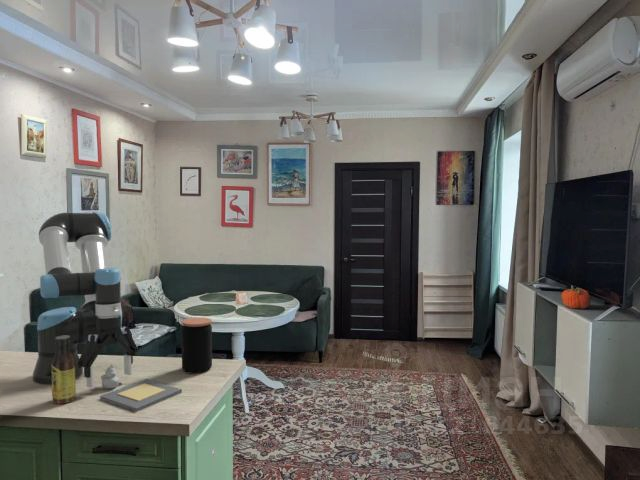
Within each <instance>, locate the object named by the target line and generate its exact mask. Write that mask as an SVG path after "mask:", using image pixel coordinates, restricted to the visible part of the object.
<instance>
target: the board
mask: <svg viewBox="0 0 640 480" xmlns="http://www.w3.org/2000/svg"><path fill="white" fill-rule="evenodd" d="M182 391H183V389H182V388H178V387H175V386H171V385H170V384H169V385H167V384H164V383H161V382H158V381H154V380H150V379H147V378H145V379H143V380H140V381H137V382H135V383H132V384H129V385H127V386H124V387H121V388H119V389H118V388H117V389H116V390H113V391H109V392H107V393H105V394H102V395H100V396H99V399H100V400H101V401H104V402H107V403H110V404H112V405H116V406H119V407H122V408H125V409H127V410H131V411H133V412H136V413H137V412H140V411H143V410H145V409H147V408H149V407H151V406H154V405H156V404H158V403H160V402H163V401H165V400H167V399H169V398H173V397H174V396H177V395H179V394H181V393H182Z"/></svg>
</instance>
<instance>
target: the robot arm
mask: <svg viewBox="0 0 640 480" xmlns="http://www.w3.org/2000/svg"><path fill="white" fill-rule="evenodd" d="M38 240H39V243H40V244H41V245H42V248H43V257H44V258H43V259H44V267H45V274H43V275H41V276H40V277H39V283H40V284H39V285H40V287H39V289H40V296H41V297H42V298H43V299H44V298H45V299H47V298H48V299H49V298H54V299H57V298H64V297H74V296H75V297H76V296H84V300H85V302H84V303H83V304H82V305H81V306H80V309H81V310H77V308H76V307H74V306H64V307H59V308H54V309H53V308H52V309H51V310H50V309H49V310H47V311H45V312H42V313H40V315H39V316H38V318H37V327H36V329H37V342H38V343H37V346H38V347H37V348H38V349H37V351H38V352H37V353H38V357H37V360H36V363H35V366H34V368H33V372H32V381H33V382H34V383H36V384H43V385H45V384H47V385H49V384H51V385H52V368H51V363H52V361H53V358H54V355H55V352H56V343H55V338H56V337H58V336H62V335H69V336H70V351H71V353H72V354H73V356H74V359H75V379H77V378H79V377H81V376H82V375H83V377H84V378H85V379H86V387H87V388H91V389H93V388H95V373H94V371H95V369H94V366H92V365H93V364H94V362H95V360H96V359H97V358H98V356H99V354H100V353H101V351H102V350H103V349H104V348H105V347H107V346H110V345H114V344H116V345H117V346H118V347H120V349H121V350H122V351H123V352H124V353H125V354H124V355H123V373H124V375H127V376H132V364H133V363H134V362H133V361H134V359H133V358H134V357H133V356H135V355H136V353H137V352H139V348H138V346H137V345H136V343H135V340H134V338H133V337H132V335H131V332H130V331H131V330H130V327H129V326H125V325H123V323H122V322H123V311H122V310H123V309H122V308H123V307H122V305H121V303H122V302H121V300H122V299H121V296H122V295H121V292H122V291H121V280H122V276H121V270H120V269H119V268H117V267H108V266H107V258H106V250H105V248H106V246H107V245H108V243H109V242H110V241H111V240H112V230H111V223H110V219H109V217H108V216H107V215H106V214H105V213H103V212H100V213H99V212H61V213H60V212H59V213H57V214H54V215H52V216H50V217H49V218H47V220H45V221H44V222H43V223H42V224H41V226H40V229H39V231H38ZM67 243H74V245H75V247H76V248H77V250H78V249H79V250H80V251H79V252H80V259H81V272H73V271H72V266H71V263H70V257H69V251H68V244H67ZM72 272H73V273H72ZM122 325H123V326H122ZM121 335H122V336H123V338H124V339H123V338H122V337H121ZM124 340H125V342H124ZM82 344H83V345H84V347H83V348H82V352H81V354H80V356H79V354H78V348H77V347H78V346H77V345H82Z"/></svg>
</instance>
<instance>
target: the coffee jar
mask: <svg viewBox="0 0 640 480" xmlns="http://www.w3.org/2000/svg"><path fill="white" fill-rule="evenodd" d="M211 324H212V319H211V318H209V317H190V318H186V319H182V320H181V325H182V328H181V367H182V370H183V371H184V372H185V373H187V374H201V373H203V374H204V373H206V372H208V371H210V369H211V368H212V366H213V326H212V325H211Z"/></svg>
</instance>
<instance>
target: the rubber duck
mask: <svg viewBox="0 0 640 480" xmlns="http://www.w3.org/2000/svg"><path fill="white" fill-rule="evenodd" d="M100 379H101V386H102V387H103V388H105V389H115V388H117V387H118V385H119V383H120V379H119V376H118V375H117V370H116V369H115V367H114V366H113V364H110V367H109V366H108V367H107V369H106V370H105V374H102V375H101V376H100Z"/></svg>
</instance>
